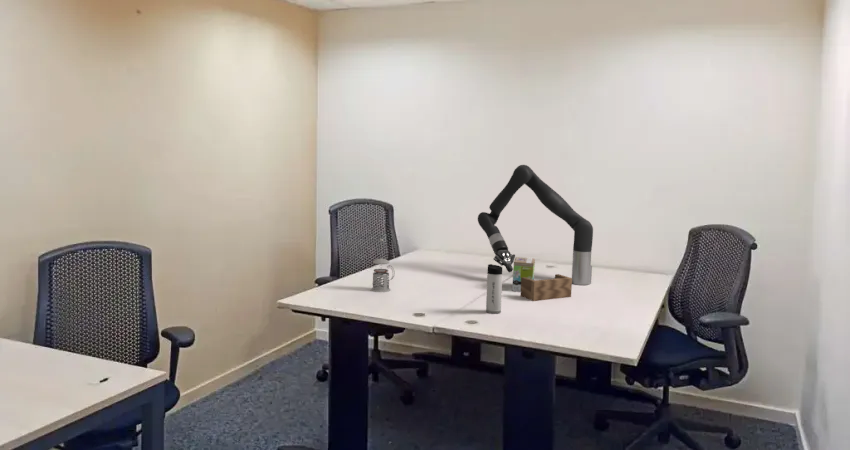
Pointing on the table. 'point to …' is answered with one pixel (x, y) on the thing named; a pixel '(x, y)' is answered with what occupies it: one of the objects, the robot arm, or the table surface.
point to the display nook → (546, 288)
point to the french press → (381, 276)
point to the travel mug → (494, 289)
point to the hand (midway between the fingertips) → (510, 271)
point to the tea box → (522, 271)
